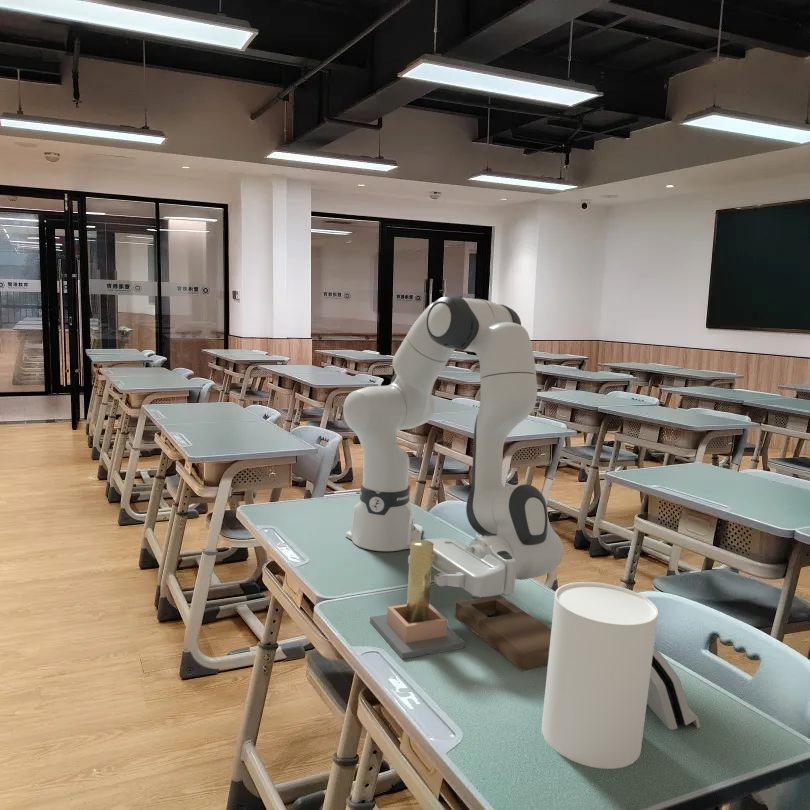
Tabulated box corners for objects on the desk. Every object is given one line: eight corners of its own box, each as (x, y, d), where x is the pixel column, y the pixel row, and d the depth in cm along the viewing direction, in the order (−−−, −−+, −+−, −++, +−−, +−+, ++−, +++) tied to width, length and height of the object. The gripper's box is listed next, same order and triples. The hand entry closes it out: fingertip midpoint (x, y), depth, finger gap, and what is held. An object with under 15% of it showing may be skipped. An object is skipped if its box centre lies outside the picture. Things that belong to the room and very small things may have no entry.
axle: (408, 622, 125) (414, 538, 123) (429, 626, 124) (435, 541, 122) (402, 631, 122) (408, 545, 119) (423, 636, 121) (430, 548, 118)
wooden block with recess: (454, 616, 131) (455, 601, 131) (497, 608, 136) (498, 594, 136) (522, 670, 113) (524, 653, 113) (569, 659, 118) (571, 642, 117)
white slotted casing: (701, 729, 100) (688, 669, 98) (672, 740, 99) (658, 680, 98) (644, 668, 116) (631, 616, 114) (618, 678, 116) (605, 625, 114)
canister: (621, 710, 103) (636, 584, 101) (656, 770, 90) (675, 627, 87) (532, 706, 103) (544, 579, 100) (554, 766, 90) (569, 622, 87)
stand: (369, 622, 127) (371, 601, 126) (427, 613, 132) (429, 593, 131) (401, 658, 114) (403, 636, 114) (464, 647, 119) (466, 626, 119)
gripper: (458, 527, 137) (396, 534, 130) (521, 563, 119) (454, 574, 112) (455, 557, 138) (394, 566, 131) (518, 598, 120) (451, 610, 113)
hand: (422, 570), depth 122 cm, fingers open, 8 cm apart
